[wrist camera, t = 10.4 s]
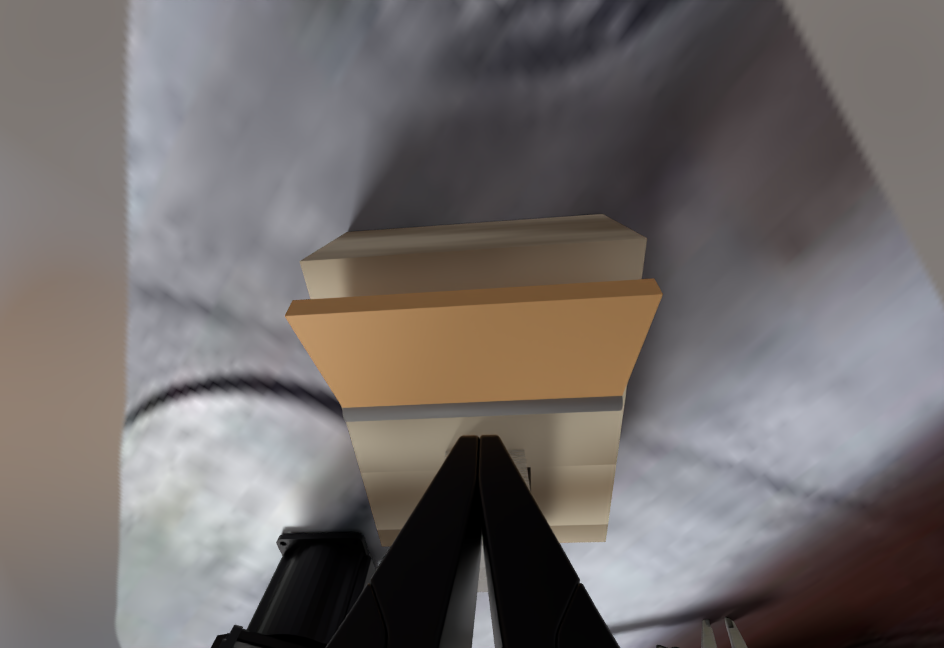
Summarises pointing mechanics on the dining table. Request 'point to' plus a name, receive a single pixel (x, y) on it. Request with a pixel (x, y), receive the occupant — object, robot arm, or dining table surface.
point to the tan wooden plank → (479, 349)
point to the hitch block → (541, 435)
